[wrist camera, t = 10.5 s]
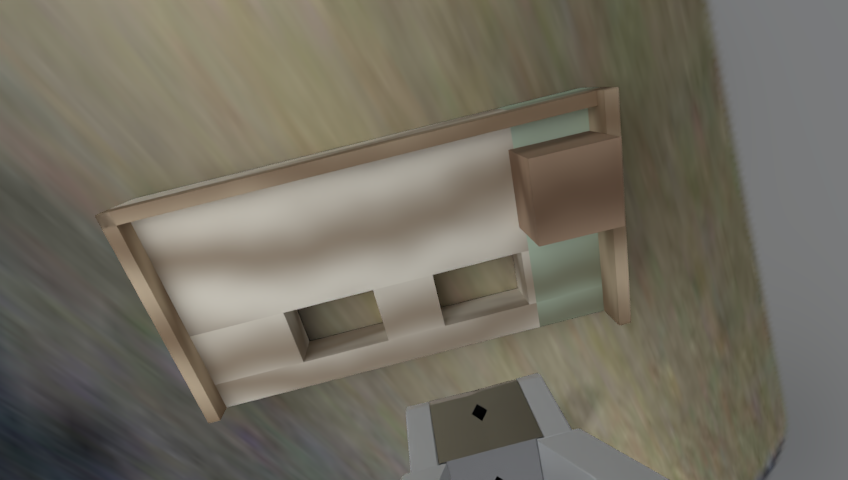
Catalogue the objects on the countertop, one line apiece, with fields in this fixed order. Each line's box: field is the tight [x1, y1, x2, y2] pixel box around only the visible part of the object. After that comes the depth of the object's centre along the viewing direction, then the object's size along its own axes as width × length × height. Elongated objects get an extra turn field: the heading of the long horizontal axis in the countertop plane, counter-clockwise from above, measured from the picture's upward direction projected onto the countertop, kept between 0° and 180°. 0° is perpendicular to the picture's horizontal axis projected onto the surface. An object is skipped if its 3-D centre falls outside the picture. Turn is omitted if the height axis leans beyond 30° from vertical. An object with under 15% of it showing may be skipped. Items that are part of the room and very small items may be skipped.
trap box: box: [95, 87, 631, 423], centre depth 26 cm, size 15×29×4 cm, turn 103°
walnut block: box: [508, 131, 625, 247], centre depth 24 cm, size 5×5×4 cm
